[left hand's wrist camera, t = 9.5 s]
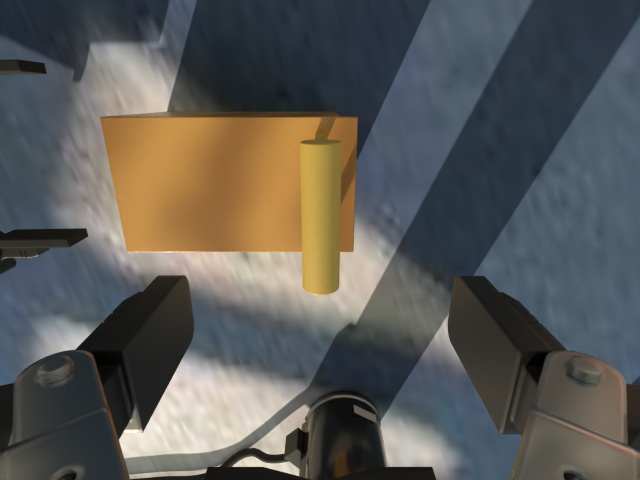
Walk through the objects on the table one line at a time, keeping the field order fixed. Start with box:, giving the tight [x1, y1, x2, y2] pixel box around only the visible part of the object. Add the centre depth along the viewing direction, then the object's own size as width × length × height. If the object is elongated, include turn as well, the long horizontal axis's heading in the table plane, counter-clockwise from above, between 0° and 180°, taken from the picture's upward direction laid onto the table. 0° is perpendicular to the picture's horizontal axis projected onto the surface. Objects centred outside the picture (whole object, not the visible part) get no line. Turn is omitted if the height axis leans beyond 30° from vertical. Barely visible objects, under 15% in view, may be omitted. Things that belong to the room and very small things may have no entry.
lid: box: [100, 116, 358, 295], centre depth 23 cm, size 17×10×9 cm, turn 90°
